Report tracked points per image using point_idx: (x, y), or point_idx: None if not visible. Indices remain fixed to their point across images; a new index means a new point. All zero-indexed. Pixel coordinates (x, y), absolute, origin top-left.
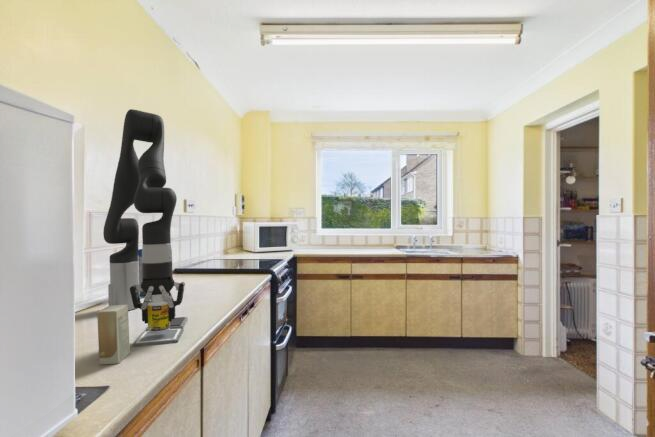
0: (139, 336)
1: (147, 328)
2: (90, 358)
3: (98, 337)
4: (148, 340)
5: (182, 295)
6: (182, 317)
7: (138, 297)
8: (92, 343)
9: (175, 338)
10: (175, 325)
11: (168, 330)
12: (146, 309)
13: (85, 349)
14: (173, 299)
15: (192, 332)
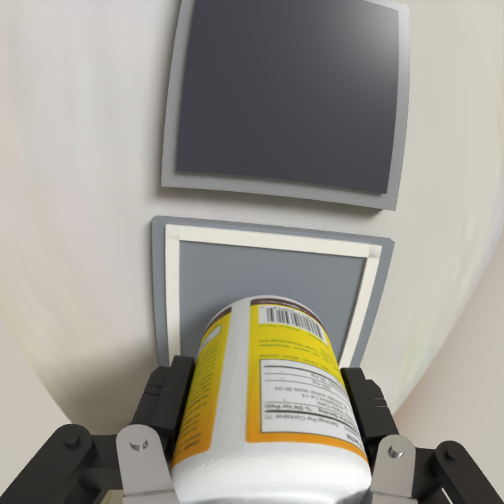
0: (156, 297)
1: (168, 174)
2: (81, 415)
3: None
4: None
5: (480, 491)
6: (385, 15)
7: (58, 501)
8: (2, 270)
9: None
10: (355, 187)
11: (310, 252)
12: (171, 461)
13: (17, 330)
14: (411, 481)
15: (422, 285)
